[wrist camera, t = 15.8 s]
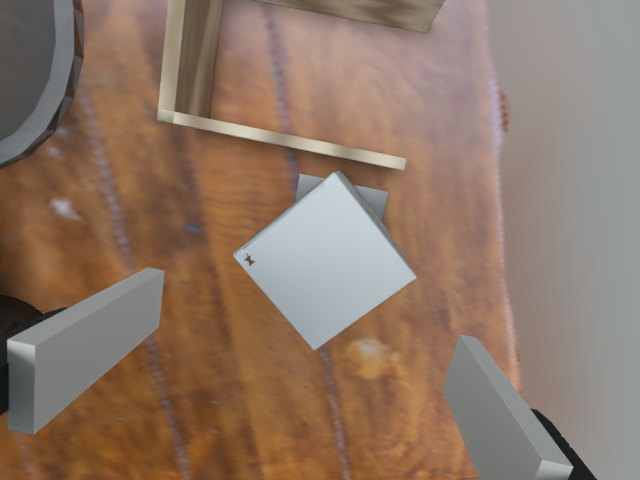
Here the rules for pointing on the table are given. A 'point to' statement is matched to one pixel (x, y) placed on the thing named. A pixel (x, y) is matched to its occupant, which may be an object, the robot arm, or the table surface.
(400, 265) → the supplement box
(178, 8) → the shelf bay
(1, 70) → the grey streaked cylinder
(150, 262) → the table surface
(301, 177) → the plate
